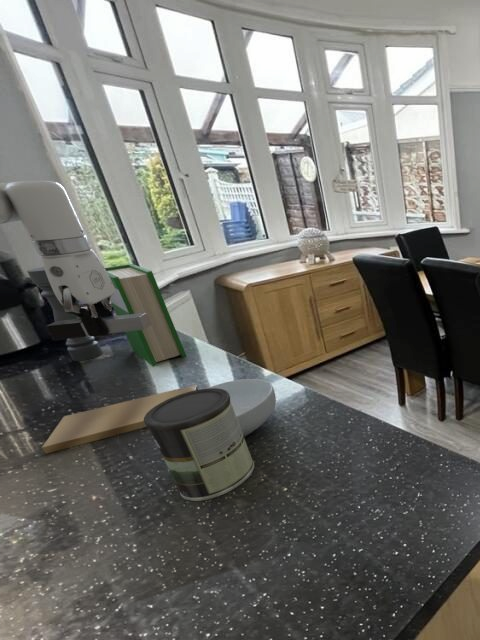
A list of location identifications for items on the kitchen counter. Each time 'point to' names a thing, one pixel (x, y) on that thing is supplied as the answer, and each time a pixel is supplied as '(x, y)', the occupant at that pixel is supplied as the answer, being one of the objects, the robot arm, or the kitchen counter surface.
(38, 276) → the candle holder
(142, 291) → the hardback book
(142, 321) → the grey bar black end
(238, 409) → the cereal bowl
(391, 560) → the kitchen counter surface
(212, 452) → the coffee can
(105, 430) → the cutting board
